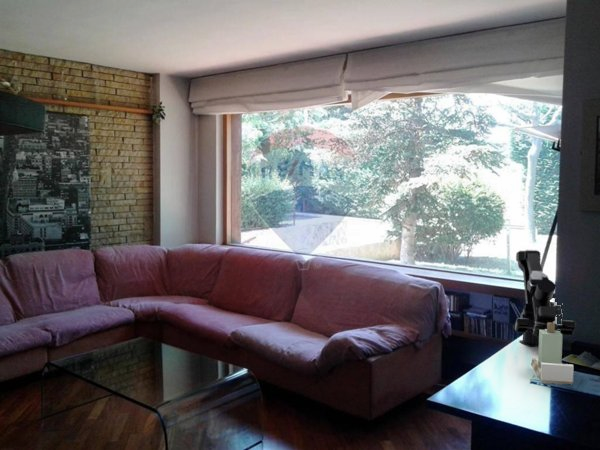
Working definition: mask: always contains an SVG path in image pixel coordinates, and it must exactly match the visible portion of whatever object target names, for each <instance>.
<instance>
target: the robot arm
mask: <svg viewBox="0 0 600 450" xmlns="http://www.w3.org/2000/svg"><path fill="white" fill-rule="evenodd" d="M515 260H516V262H517V266H518V268H519V269H520V270H521V271H522V275H523V286H524V298H525V305H524V307H523V309H522V312H521V314H520V317H517V318H516V319H515V320H516V321H515V323H514V330H515V333H520V334H521V333H522V340H519V343H522V344H524V345H526V346H528V347H537V346H538V347H539V330H545V329H547V323H548V322H552V323H554V322H553V321H555V317H556V315H559V316H560V315H561V314H562V315H563V313H562V309H561V305H555V306H554V307H551V303H550V300H551V299H553V296H554V293H555V290H556V287H557V286H556V284H555V282H553V281H552V280H550V279H549V277H548V275H547V274H546V273H544V272H543V268H542V263H541V252H540V250H537V249H525V250H524V249H522V250H520V249H519V251H517V252H516V255H515ZM555 330H556V331H558V330H560V333H561V334H562V335H563V336H571V337H572V336H574V334H575V333H576V330H577V323H576V321H574V320H567V319H566V320H564V319H563V320H561V324H555Z"/></svg>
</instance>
